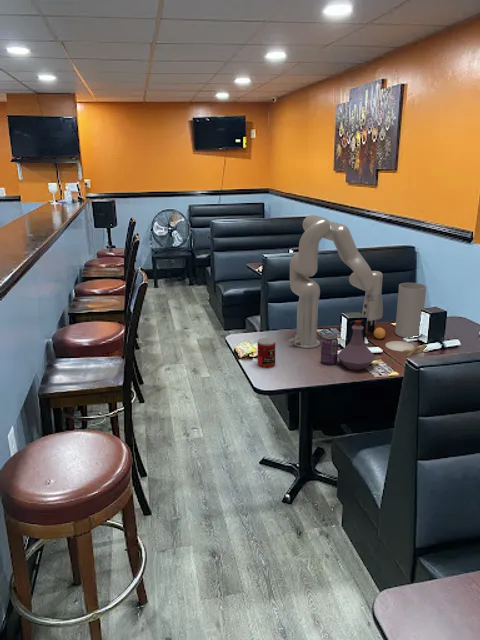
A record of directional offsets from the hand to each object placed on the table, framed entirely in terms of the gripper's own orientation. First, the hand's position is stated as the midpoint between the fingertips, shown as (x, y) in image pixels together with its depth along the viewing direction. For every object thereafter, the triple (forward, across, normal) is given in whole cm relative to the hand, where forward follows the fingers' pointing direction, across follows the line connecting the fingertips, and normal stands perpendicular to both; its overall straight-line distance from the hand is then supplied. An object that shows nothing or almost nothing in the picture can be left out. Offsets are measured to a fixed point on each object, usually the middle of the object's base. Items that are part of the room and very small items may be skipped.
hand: (370, 332), depth 248 cm
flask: (+2, -34, -23) cm, 41 cm away
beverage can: (+2, -40, -14) cm, 43 cm away
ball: (-1, 0, -6) cm, 6 cm away
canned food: (+2, -64, 0) cm, 64 cm away
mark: (+2, -1, -19) cm, 19 cm away
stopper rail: (+2, -2, -28) cm, 28 cm away
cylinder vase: (+2, +16, -10) cm, 19 cm away
